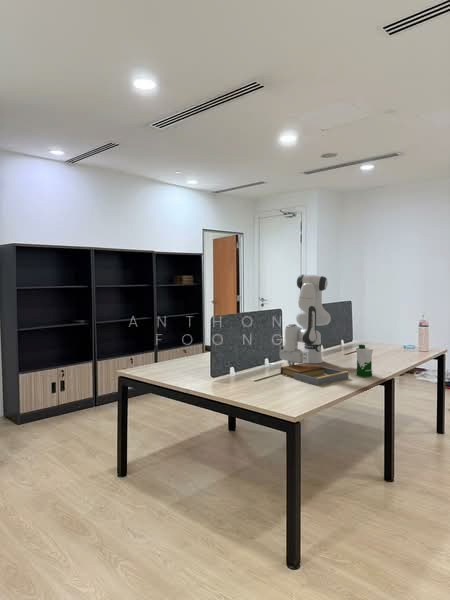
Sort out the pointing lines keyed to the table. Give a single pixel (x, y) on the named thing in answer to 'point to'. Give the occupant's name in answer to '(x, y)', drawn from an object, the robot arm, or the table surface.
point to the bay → (324, 377)
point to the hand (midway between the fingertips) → (291, 367)
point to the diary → (303, 370)
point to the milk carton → (364, 361)
